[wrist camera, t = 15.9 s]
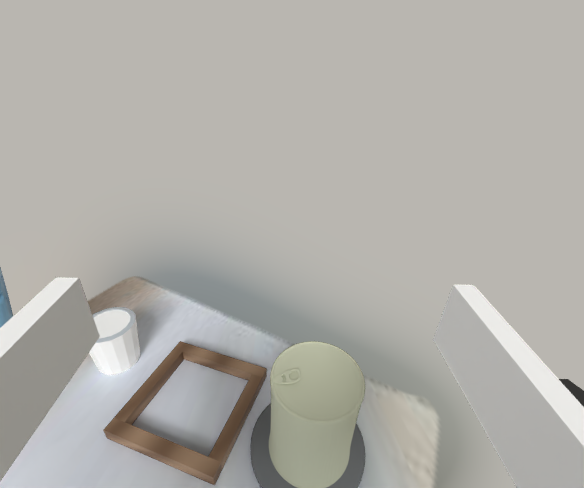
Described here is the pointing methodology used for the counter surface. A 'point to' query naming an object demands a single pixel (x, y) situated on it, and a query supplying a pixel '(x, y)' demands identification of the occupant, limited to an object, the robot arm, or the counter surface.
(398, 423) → the counter surface
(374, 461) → the counter surface
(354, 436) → the mat
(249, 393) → the pocket
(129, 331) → the shot glass
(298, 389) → the can
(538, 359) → the robot arm
